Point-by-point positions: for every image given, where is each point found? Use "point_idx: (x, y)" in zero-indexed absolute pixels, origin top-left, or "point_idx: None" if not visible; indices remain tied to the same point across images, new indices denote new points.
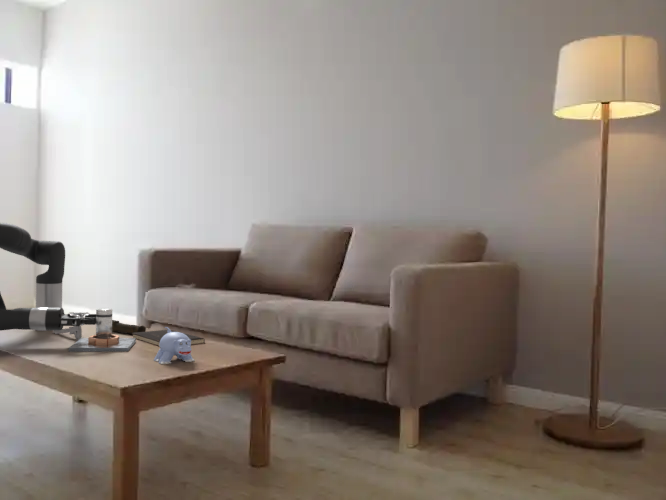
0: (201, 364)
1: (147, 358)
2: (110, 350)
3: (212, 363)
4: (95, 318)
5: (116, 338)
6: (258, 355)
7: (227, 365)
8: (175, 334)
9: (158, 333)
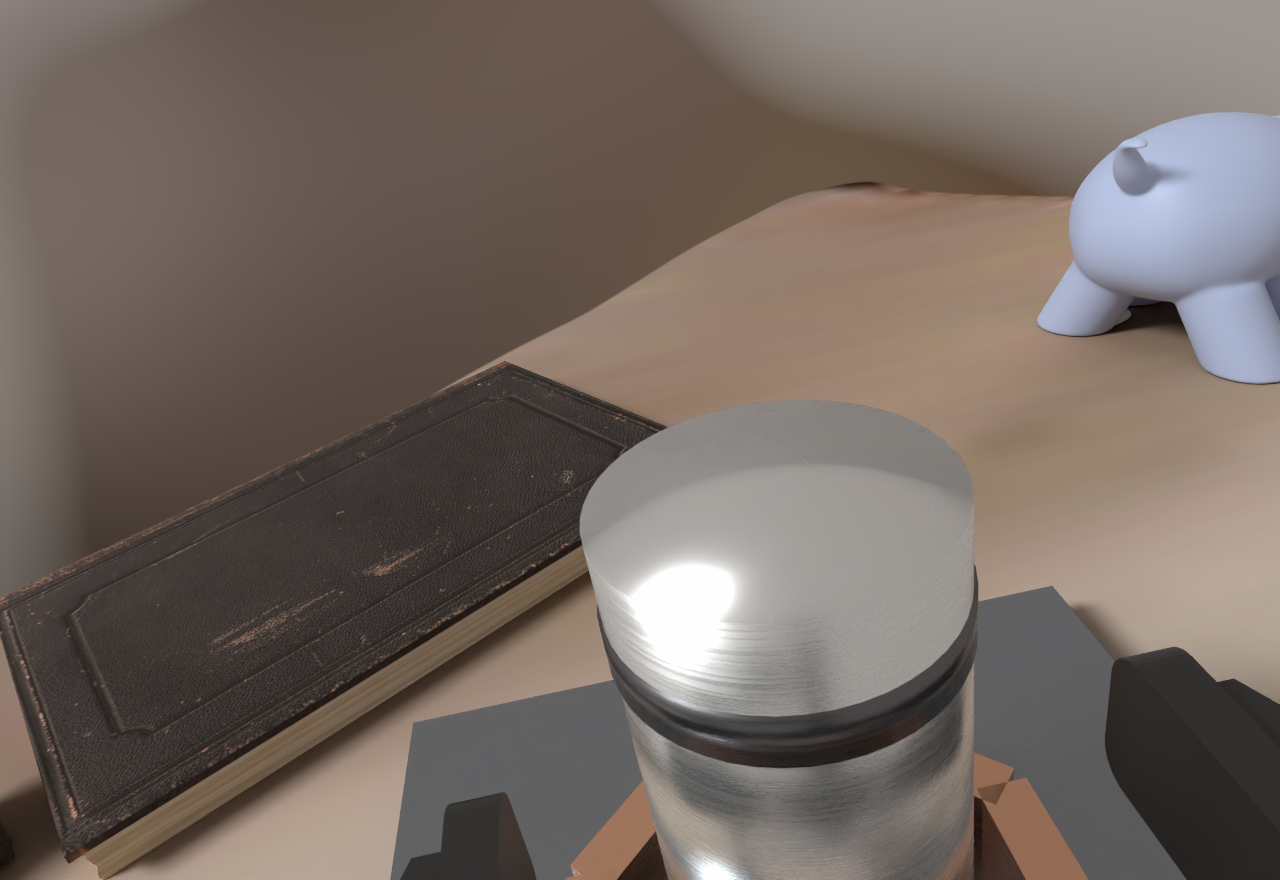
0: None
1: (1243, 425)
2: None
3: None
4: (1175, 653)
5: None
6: (834, 214)
7: None
8: (1261, 115)
9: (223, 605)
